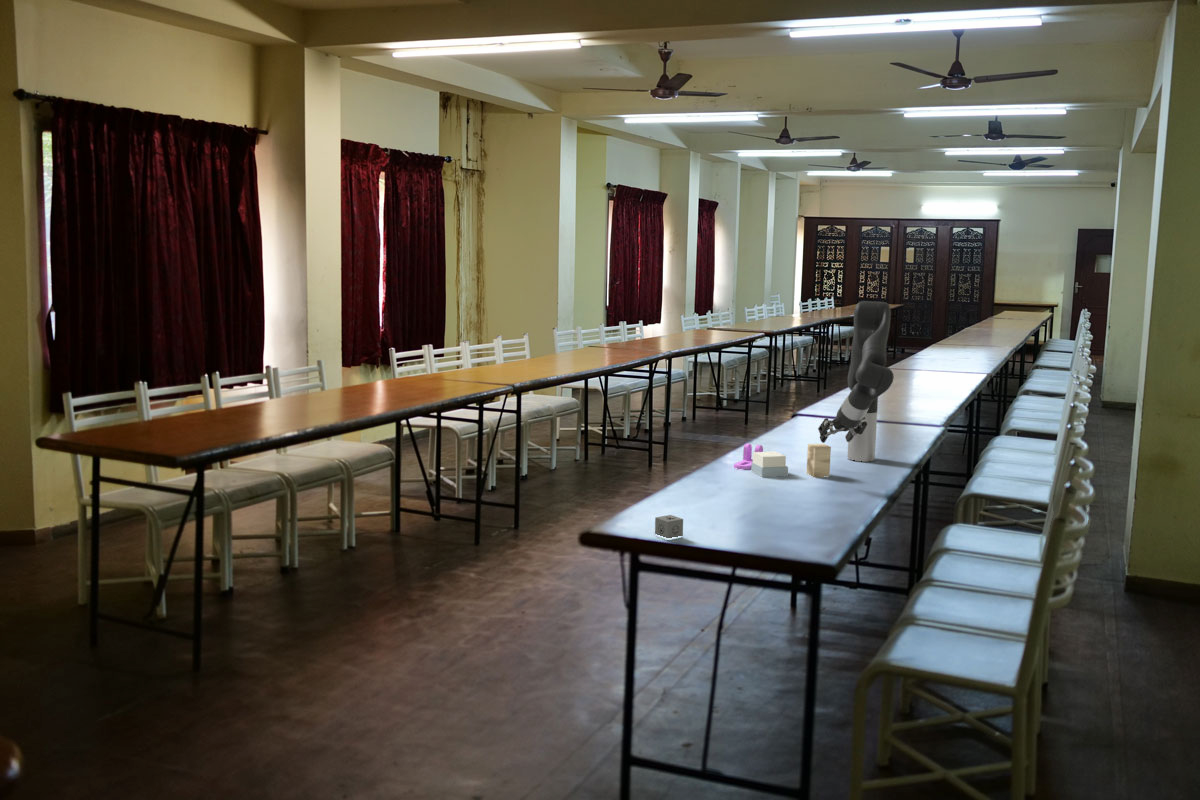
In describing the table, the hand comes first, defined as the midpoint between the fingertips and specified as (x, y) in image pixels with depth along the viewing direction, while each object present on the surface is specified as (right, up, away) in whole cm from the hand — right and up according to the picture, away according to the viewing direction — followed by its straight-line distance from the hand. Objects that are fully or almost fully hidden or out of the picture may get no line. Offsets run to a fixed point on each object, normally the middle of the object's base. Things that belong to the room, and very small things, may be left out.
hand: (834, 440), depth 331 cm
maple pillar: (-3, -12, +12) cm, 17 cm away
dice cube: (-57, -22, -65) cm, 89 cm away
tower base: (-18, -12, +13) cm, 26 cm away
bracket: (-24, -10, +25) cm, 36 cm away
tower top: (-19, -9, +13) cm, 24 cm away
